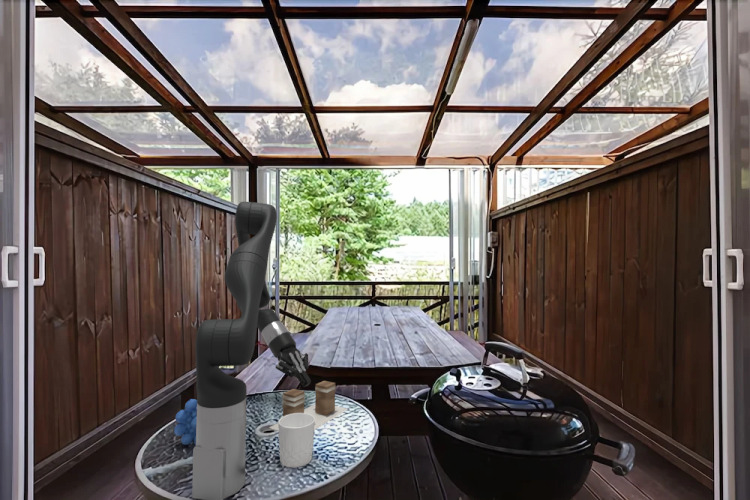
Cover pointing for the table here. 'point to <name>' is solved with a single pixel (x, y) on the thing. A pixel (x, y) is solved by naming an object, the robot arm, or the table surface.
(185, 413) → the grapes
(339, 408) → the white rectangular board
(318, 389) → the one band post
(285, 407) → the two band post
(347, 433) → the table surface
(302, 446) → the white cup
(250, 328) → the robot arm
